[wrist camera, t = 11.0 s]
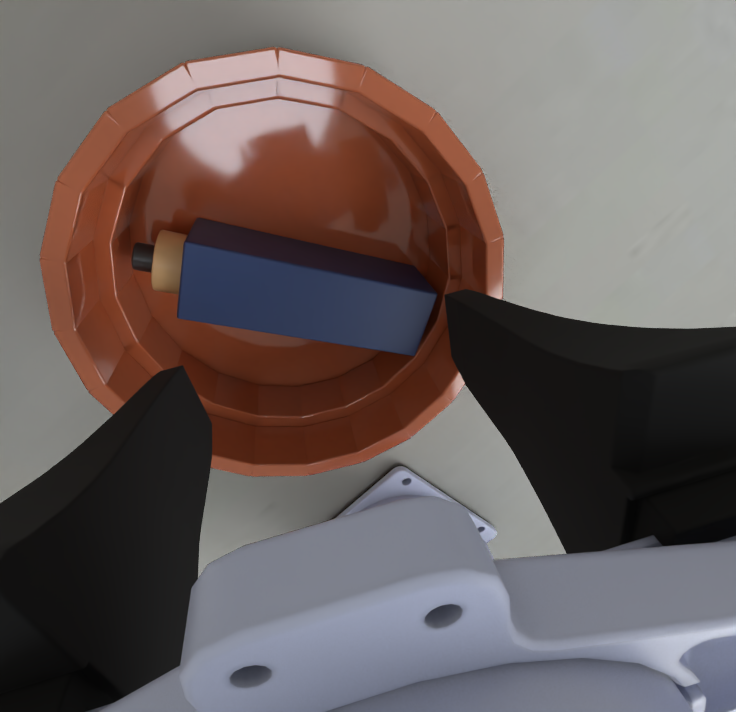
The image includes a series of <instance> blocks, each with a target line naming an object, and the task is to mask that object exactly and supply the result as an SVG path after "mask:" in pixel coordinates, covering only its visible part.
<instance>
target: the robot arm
mask: <svg viewBox="0 0 736 712" xmlns="http://www.w3.org/2000/svg"><path fill="white" fill-rule="evenodd" d="M444 297H445V306H446V314H447V323H448V331H449V340H450V348H451V357H452V359H453V361H454V363H455V365H456V367H457V369H458V371H459V373H460V375H461V377H462V379H463V381H464V383H465V384H466V386H467V387H468V389H469V390H470V391H471V393H472V394H473V396H474V397H475V398H476V400H477V401H478V403H479V404H480V405H481V407H482V408H483V410H484V411H485V412H486V414H487V415H488V416H489V418H490V419H491V421H492V422H493V423H494V425H495V426H496V427H497V429H498V430H499V432H500V433H501V434H502V436H503V437H504V439H505V440H506V442H507V443H508V445H509V446H510V448H511V449H512V451H513V452H514V454H515V456H516V458H517V459H518V461H519V463H520V465H521V467H522V468H523V470H524V472H525V474H526V476H527V477H528V479H529V481H530V483H531V485H532V487H533V488H534V490H535V492H536V494H537V496H538V498H539V500H540V502H541V503H542V505H543V507H544V509H545V511H546V513H547V515H548V517H549V519H550V521H551V523H552V525H553V527H554V529H555V531H556V533H557V535H558V537H559V539H560V541H561V543H562V545H563V547H564V549H565V551H566V553H567V554H559V555H547V556H534V557H521V558H508V559H496V560H494V558H493V556H492V554H491V552H490V549H489V547H488V545H487V543H488V542H489V541H490V540H492V539H493V538H494V537H495V536H496V534H497V531H496V529H495V527H494V526H492V525H491V524H489V523H488V522H486V521H485V520H483V519H482V518H480V517H479V516H477V515H476V514H475V513H473V512H472V511H470V510H469V509H467V508H466V507H465V506H463V505H461V504H460V503H458V502H457V501H455V500H454V499H452V498H451V497H449V496H448V495H446V494H445V493H443V492H442V491H440V490H439V489H437V488H436V487H434V486H433V485H431V484H430V483H428V482H427V481H425V480H424V479H422V478H421V477H419V476H418V475H416V474H415V473H413V472H412V471H410V470H409V469H407V468H406V467H403V466H398V467H395V468H394V469H392V470H391V471H390V472H389V473H388V474H386V475H385V476H384V477H383V478H382V479H381V480H379V481H378V482H377V483H376V484H375V485H374V486H372V487H371V488H370V489H369V490H368V491H367V492H365V493H364V494H363V495H362V496H361V497H360V498H358V499H357V500H356V501H355V502H354V503H353V504H351V505H350V506H349V507H348V508H347V509H346V510H344V511H343V512H342V513H341V514H340V515H338V516H337V517H336V518H335V519H332V520H329V521H325V522H322V523H319V524H315V525H312V526H308V527H305V528H302V529H298V530H295V531H291V532H288V533H285V534H281V535H278V536H275V537H271V538H268V539H264V540H261V541H258V542H254V543H251V544H247V545H244V546H242V547H240V548H238V549H236V550H234V551H232V552H230V553H228V554H226V555H224V556H222V557H220V558H218V559H217V560H215V561H213V562H211V563H209V564H208V565H207V566H206V568H205V569H204V570H203V572H202V573H201V575H200V576H199V578H198V559H199V541H200V532H201V524H202V518H203V512H204V506H205V499H206V493H207V487H208V481H209V474H210V468H211V461H212V422H211V420H210V418H209V416H208V414H207V412H206V410H205V408H204V406H203V404H202V402H201V400H200V398H199V396H198V394H197V392H196V390H195V388H194V386H193V384H192V382H191V380H190V378H189V376H188V374H187V372H186V370H185V368H184V366H183V365H181V366H178V367H174V368H170V369H166V370H163V371H160V372H158V373H157V374H156V375H154V376H153V377H152V378H151V379H150V380H149V381H147V382H146V383H145V384H144V385H143V386H142V387H141V388H140V389H139V390H138V391H137V392H136V393H135V394H134V395H133V396H132V397H131V398H130V399H129V400H128V401H127V402H126V403H125V404H124V405H123V406H122V407H121V408H120V409H119V410H118V411H117V412H116V413H115V414H114V415H113V416H112V417H111V418H109V419H108V420H107V421H106V422H105V423H104V424H103V425H102V426H101V427H100V428H99V429H97V430H96V431H95V432H94V433H93V434H92V435H91V436H90V437H89V438H88V439H86V440H85V441H84V442H83V443H82V444H81V445H80V446H78V447H77V448H76V449H75V450H74V451H73V452H71V453H70V454H69V455H68V456H66V457H65V458H64V459H63V460H61V461H60V462H59V463H57V464H56V465H55V466H53V467H52V468H51V469H50V470H48V471H47V472H46V473H44V474H43V475H42V476H40V477H39V478H37V479H36V480H34V481H33V482H31V483H30V484H29V485H27V486H26V487H24V488H23V489H21V490H20V491H18V492H17V493H15V494H14V495H12V496H11V497H9V498H8V499H6V500H5V501H3V502H2V503H0V712H736V327H721V328H698V329H669V328H640V327H627V326H617V325H606V324H599V323H591V322H586V321H580V320H574V319H569V318H564V317H559V316H555V315H551V314H547V313H543V312H539V311H535V310H532V309H529V308H525V307H522V306H519V305H516V304H512V303H509V302H506V301H503V300H500V299H497V298H494V297H492V296H489V295H486V294H482V293H479V292H476V291H473V290H468V289H464V290H460V291H456V292H453V293H449V294H445V295H444ZM405 478H408V479H406V480H404V479H405Z"/></svg>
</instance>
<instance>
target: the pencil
mask: <svg viewBox="0 0 736 712" xmlns="http://www.w3.org/2000/svg"><path fill="white" fill-rule="evenodd" d="M131 264H132V268H133V269H134V270H139V271H144V272H149V273H151V283H152V288H153V290H155V291H161V292H167V293H172V294H178V295H179V296H178V307H177V318H179V319H183V320H190V321H196V322H202V323H209V324H215V325H221V326H227V327H234V328H240V329H246V330H253V331H259V332H265V333H271V334H278V335H284V336H290V337H297V338H303V339H309V340H316V341H322V342H328V343H334V344H341V345H347V346H353V347H360V348H366V349H372V350H378V351H385V352H391V353H397V354H404V355H410V356H415V355H416V352H417V349H418V346H419V344H420V341H421V338H422V336H423V333H424V330H425V328H426V325H427V322H428V319H429V317H430V314H431V311H432V309H433V306H434V303H435V301H436V298H437V293H436V291H435V290H434V289H433V288H432V286H431V285H430V284H429V283H428V282H427V280H426V279H425V278H424V277H423V276H422V274H421V273H420V272H419V271H418V269H417V268H416V267H415V266H413V265H409V264H404V263H400V262H395V261H391V260H386V259H382V258H377V257H373V256H368V255H364V254H359V253H355V252H351V251H346V250H342V249H337V248H333V247H328V246H324V245H319V244H315V243H310V242H306V241H301V240H297V239H292V238H288V237H283V236H279V235H274V234H270V233H265V232H261V231H256V230H252V229H247V228H243V227H238V226H234V225H229V224H225V223H221V222H216V221H212V220H207V219H203V218H196V220H195V222H194V224H193V226H192V228H191V230H190V232H189V234H188V235H186V234H181V233H176V232H172V231H167V230H161V231H160V232H159V234H158V236H157V239H156V243H155V245H150V244H145V243H140V242H136V243H135V245H134V247H133V251H132V258H131Z"/></svg>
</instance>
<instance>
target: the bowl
mask: <svg viewBox="0 0 736 712" xmlns="http://www.w3.org/2000/svg"><path fill="white" fill-rule="evenodd" d="M196 218H203V219H207V220H212V221H216V222H221V223H225V224H229V225H234V226H238V227H243V228H247V229H252V230H256V231H261V232H265V233H270V234H274V235H279V236H283V237H288V238H292V239H297V240H301V241H306V242H310V243H315V244H319V245H324V246H328V247H333V248H337V249H342V250H346V251H351V252H355V253H359V254H364V255H368V256H373V257H377V258H382V259H386V260H391V261H395V262H400V263H404V264H409V265H413V266H415V267H416V268H417V269H418V271H419V272H420V273H421V274H422V276H423V277H424V278H425V279H426V280H427V282H428V283H429V284H430V285H431V286H432V288H433V289H434V290H435V291H436V293H437V298H436V301H435V303H434V306H433V309H432V311H431V314H430V317H429V319H428V322H427V325H426V328H425V330H424V333H423V336H422V338H421V341H420V344H419V346H418V349H417V352H416V355H415V356H410V355H404V354H397V353H391V352H385V351H378V350H372V349H366V348H360V347H353V346H347V345H341V344H334V343H328V342H322V341H316V340H309V339H303V338H297V337H290V336H284V335H278V334H271V333H265V332H259V331H253V330H246V329H240V328H234V327H227V326H221V325H215V324H209V323H202V322H196V321H190V320H183V319H179V318H177V307H178V296H179V295H178V294H172V293H167V292H161V291H155V290H153V288H152V283H151V273H149V272H144V271H139V270H134V269H133V268H132V264H131V258H132V251H133V247H134V245H135V243H136V242H140V243H145V244H150V245H155V243H156V239H157V236H158V234H159V232H160V231H161V230H167V231H172V232H176V233H181V234H186V235H188V234H189V232H190V230H191V228H192V226H193V224H194V222H195V220H196ZM40 257H41V258H40V265H41V271H42V276H43V282H44V287H45V293H46V298H47V304H48V309H49V315H50V320H51V326H52V330H53V331H54V334H55V336H56V337H57V339H58V341H59V343H60V344H61V346H62V348H63V349H64V351H65V353H66V355H67V356H68V358H69V360H70V362H71V363H72V365H73V367H74V368H75V370H76V372H77V374H78V375H79V377H80V379H81V380H82V382H83V384H84V386H85V387H86V389H87V390H89V393H90V394H91V395H92V396H93V397H94V398H96V399H97V400H98V401H99V402H100V403H101V404H102V405H103V406H104V407H105V408H107V409H108V410H109V411H110V412H111V413H112V414H113V415H114V414H115V413H116V412H117V411H118V410H119V409H120V408H121V407H122V406H123V405H124V404H125V403H126V402H127V401H128V400H129V399H130V398H131V397H132V396H133V395H134V394H135V393H136V392H137V391H138V390H139V389H140V388H141V387H142V386H143V385H144V384H145V383H146V382H147V381H149V380H150V379H151V378H152V377H153V376H154V375H156V374H157V373H158V372H160V371H163V370H166V369H170V368H174V367H178V366H181V365H183V366H184V368H185V370H186V372H187V374H188V376H189V378H190V380H191V382H192V384H193V386H194V388H195V390H196V392H197V394H198V396H199V398H200V400H201V402H202V404H203V406H204V408H205V410H206V412H207V414H208V416H209V418H210V420H211V422H212V461H211V468H214V469H218V470H223V471H227V472H232V473H236V474H241V475H245V476H253V477H260V476H307V475H314V474H318V473H322V472H326V471H330V470H334V469H338V468H342V467H346V466H350V465H354V464H358V463H361V462H365V461H367V460H369V459H371V458H373V457H375V456H377V455H379V454H381V453H382V452H384V451H386V450H388V449H390V448H392V447H394V446H396V445H398V444H400V443H402V442H404V441H406V440H408V439H410V438H411V437H412V436H414V435H415V434H416V433H417V432H418V431H419V430H421V429H422V428H423V427H424V426H425V425H426V424H428V423H429V422H430V421H431V420H432V419H433V418H434V417H436V416H437V415H438V414H439V413H440V412H441V411H443V410H444V409H445V408H446V407H447V406H448V405H449V404H451V403H452V401H453V400H454V399H455V398H456V396H457V395H458V393H459V392H460V390H461V389H462V388H463V386H464V385H465V383H464V381H463V379H462V377H461V375H460V373H459V371H458V369H457V367H456V365H455V363H454V361H453V359H452V357H451V348H450V340H449V331H448V323H447V314H446V306H445V297H444V295H445V294H449V293H453V292H456V291H460V290H464V289H468V290H473V291H476V292H479V293H482V294H486V295H489V296H492V297H494V298H497V299H500V300H502V299H503V265H504V238H503V232H502V229H501V226H500V223H499V220H498V217H497V214H496V210H495V207H494V204H493V201H492V198H491V195H490V192H489V189H488V185H487V182H486V179H485V176H484V173H483V172H482V169H481V168H480V167H479V165H478V164H477V163H476V161H475V160H474V159H473V157H472V156H471V155H470V153H469V152H468V151H467V149H466V148H465V147H464V146H463V144H462V143H461V142H460V140H459V139H458V138H457V136H456V135H455V134H454V132H453V131H452V130H451V129H450V127H449V126H448V125H447V123H446V122H445V121H444V119H443V118H442V117H441V115H440V114H439V113H438V112H436V111H435V109H433V108H432V107H430V106H429V105H427V104H426V103H424V102H423V101H421V100H419V99H418V98H416V97H415V96H413V95H412V94H410V93H408V92H407V91H405V90H404V89H402V88H401V87H399V86H397V85H396V84H394V83H393V82H391V81H390V80H388V79H387V78H385V77H383V76H382V75H380V74H379V73H377V72H376V71H374V70H372V69H371V68H369V67H365V66H364V65H362V64H358V63H353V62H348V61H344V60H339V59H334V58H330V57H325V56H320V55H315V54H311V53H306V52H301V51H297V50H292V49H287V48H283V47H278V48H276V47H268V48H262V49H256V50H250V51H244V52H237V53H231V54H225V55H219V56H213V57H206V58H200V59H194V60H188V61H186V62H185V63H184V62H183V63H180V64H178V65H177V66H175V67H173V68H172V69H170V70H169V71H167V72H165V73H164V74H162V75H160V76H159V77H157V78H155V79H154V80H152V81H151V82H149V83H147V84H146V85H144V86H142V87H141V88H139V89H137V90H136V91H134V92H133V93H131V94H129V95H128V96H126V97H124V98H123V99H121V100H119V101H118V102H116V103H115V104H113V105H111V106H110V107H108V108H107V110H106V111H104V112H103V114H102V115H101V116H100V118H99V119H98V121H97V122H96V123H95V125H94V126H93V128H92V129H91V131H90V132H89V133H88V135H87V136H86V138H85V139H84V140H83V142H82V143H81V145H80V146H79V147H78V149H77V150H76V152H75V153H74V154H73V156H72V157H71V159H70V160H69V162H68V163H67V164H66V166H65V167H64V169H63V170H62V171H61V173H60V174H59V176H58V178H57V181H56V182H55V186H54V190H53V195H52V200H51V204H50V209H49V214H48V219H47V223H46V228H45V233H44V238H43V242H42V247H41V252H40Z"/></svg>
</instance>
